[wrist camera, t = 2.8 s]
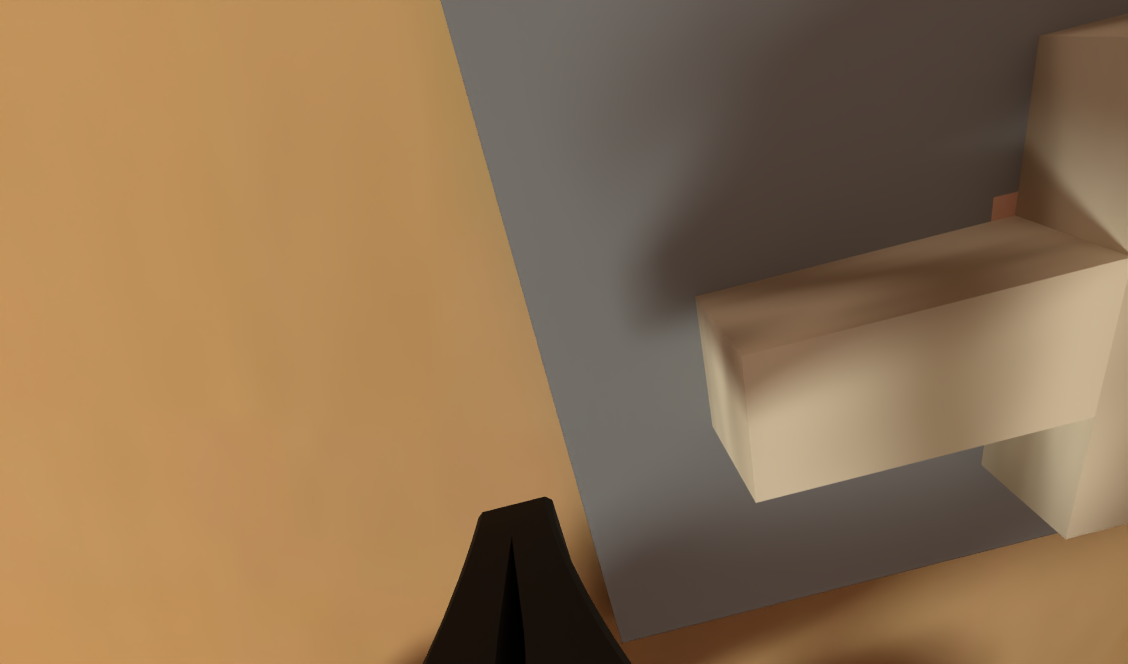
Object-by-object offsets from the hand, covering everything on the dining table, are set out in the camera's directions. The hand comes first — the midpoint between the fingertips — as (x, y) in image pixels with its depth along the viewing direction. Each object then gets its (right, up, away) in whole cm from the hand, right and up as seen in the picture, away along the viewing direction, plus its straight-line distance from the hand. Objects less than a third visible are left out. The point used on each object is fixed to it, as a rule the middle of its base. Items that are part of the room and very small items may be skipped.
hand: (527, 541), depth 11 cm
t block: (+10, +5, +4) cm, 12 cm away
